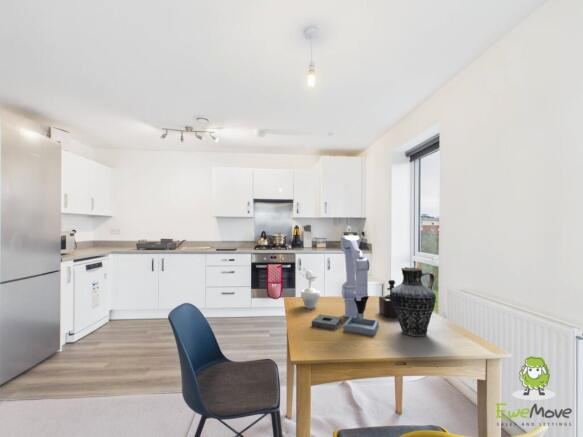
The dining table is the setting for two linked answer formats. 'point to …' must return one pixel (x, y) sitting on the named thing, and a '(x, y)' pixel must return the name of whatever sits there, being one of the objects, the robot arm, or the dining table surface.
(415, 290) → the jug
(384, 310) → the dark piece
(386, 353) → the dining table surface
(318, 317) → the grey square frame
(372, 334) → the tray
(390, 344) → the dining table surface
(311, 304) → the potted plant
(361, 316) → the pin
